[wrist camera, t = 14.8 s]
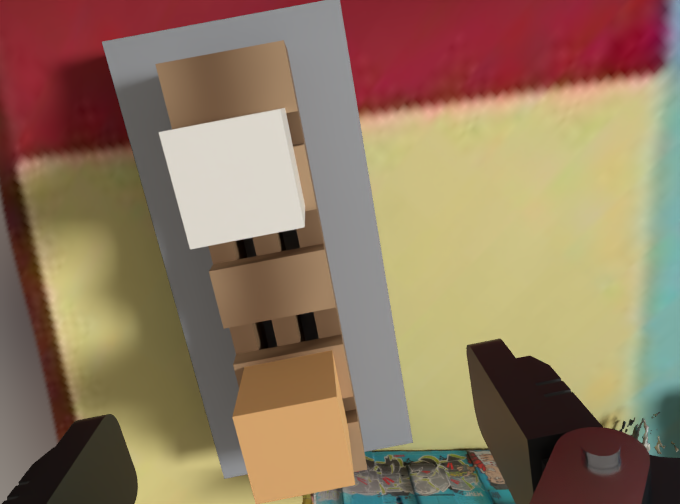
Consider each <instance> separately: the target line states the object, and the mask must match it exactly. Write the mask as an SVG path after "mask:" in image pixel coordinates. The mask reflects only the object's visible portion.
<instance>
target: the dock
mask: <svg viewBox="0 0 680 504" xmlns="http://www.w3.org/2000/svg"><path fill="white" fill-rule="evenodd" d="M282 40H284V42H285V45H286V47H287V50H288V56H289V61H290V66H291V71H292V76H293V81H294V86H295V92H296V97H297V102H298V107H299V112H300V117H301V123H302V128H303V133H304V138H305V143H306V148H307V153H308V159H309V164H310V169H311V174H312V179H313V184H314V190H315V195H316V200H317V205H318V210H319V215H320V221H321V226H322V231H323V236H324V241H325V246H326V251H327V257H328V262H329V267H330V272H331V277H332V282H333V288H334V293H335V298H336V303H337V308H338V313H339V318H340V324H341V329H342V334H343V339H344V344H345V349H346V355H347V360H348V365H349V370H350V375H351V380H352V385H353V391H354V396H355V401H356V406H357V411H358V416H359V422H360V427H361V434H362V440H363V446H364V452H366V451H371V450H376V449H382V448H387V447H392V446H397V445H402V444H408V443H413V440H412V434H411V428H410V422H409V416H408V410H407V404H406V398H405V392H404V386H403V380H402V374H401V368H400V362H399V355H398V349H397V343H396V337H395V331H394V325H393V319H392V313H391V307H390V301H389V295H388V289H387V283H386V277H385V271H384V265H383V259H382V253H381V247H380V241H379V235H378V229H377V222H376V216H375V210H374V204H373V198H372V192H371V186H370V180H369V174H368V168H367V162H366V156H365V150H364V144H363V138H362V132H361V126H360V120H359V114H358V108H357V102H356V96H355V89H354V83H353V77H352V71H351V65H350V59H349V53H348V47H347V41H346V35H345V29H344V23H343V17H342V11H341V5H340V0H324V1H319V2H314V3H308V4H303V5H297V6H292V7H287V8H281V9H276V10H271V11H265V12H260V13H254V14H249V15H244V16H238V17H233V18H228V19H222V20H217V21H211V22H206V23H201V24H195V25H190V26H184V27H179V28H174V29H168V30H163V31H158V32H152V33H147V34H141V35H136V36H131V37H125V38H120V39H114V40H109V41H104V42H102V44H103V48H104V51H105V55H106V58H107V62H108V66H109V69H110V73H111V76H112V80H113V83H114V87H115V90H116V94H117V98H118V101H119V105H120V108H121V112H122V115H123V119H124V123H125V126H126V130H127V133H128V137H129V140H130V144H131V147H132V151H133V155H134V158H135V162H136V165H137V169H138V172H139V176H140V180H141V183H142V187H143V190H144V194H145V197H146V201H147V204H148V208H149V212H150V215H151V219H152V222H153V226H154V229H155V233H156V236H157V240H158V244H159V247H160V251H161V254H162V258H163V261H164V265H165V269H166V272H167V276H168V279H169V283H170V286H171V290H172V293H173V297H174V301H175V304H176V308H177V311H178V315H179V318H180V322H181V326H182V329H183V333H184V336H185V340H186V343H187V347H188V350H189V354H190V358H191V361H192V365H193V368H194V372H195V375H196V379H197V383H198V386H199V390H200V393H201V397H202V400H203V404H204V407H205V411H206V415H207V418H208V422H209V425H210V429H211V432H212V436H213V439H214V443H215V447H216V450H217V454H218V457H219V461H220V464H221V468H222V472H223V475H224V479H225V478H230V477H236V476H241V475H246V474H248V473H247V469H246V466H245V462H244V458H243V455H242V451H241V447H240V443H239V440H238V436H237V432H236V429H235V425H234V421H233V418H232V416H233V412H234V408H235V404H236V400H237V395H238V391H239V386H238V382H237V378H236V375H235V371H234V367H233V363H234V360H235V356H236V352H235V348H234V344H233V340H232V336H231V333H230V329H229V328H225V329H224V328H223V324H222V320H221V316H220V313H219V309H218V305H217V301H216V297H215V293H214V289H213V286H212V282H211V278H210V274H209V270H210V269H211V267H212V265H213V262H212V258H211V254H210V250H209V246H206V247H200V248H195V249H190V247H189V244H188V240H187V236H186V232H185V229H184V225H183V221H182V218H181V214H180V210H179V207H178V203H177V199H176V195H175V192H174V188H173V184H172V181H171V177H170V173H169V169H168V166H167V162H166V158H165V155H164V151H163V147H162V144H161V140H160V136H159V132H162V131H167V130H172V127H171V123H170V119H169V115H168V111H167V107H166V103H165V100H164V96H163V92H162V88H161V84H160V80H159V76H158V72H157V69H156V65H155V64H158V63H164V62H169V61H174V60H180V59H185V58H191V57H196V56H201V55H207V54H212V53H217V52H223V51H228V50H234V49H239V48H244V47H250V46H255V45H260V44H266V43H271V42H277V41H282ZM282 233H283V238H284V243H285V247H286V250H291V249H297V248H300V245H299V240H298V235H297V231H296V229H294V230H288V231H283V232H282ZM243 241H244V246H245V250H246V254H247V258H249V257H254V256H256V251H255V247H254V243H253V238H247V239H243ZM300 317H301V322H302V327H303V331H304V336H305V340H306V341H309V340H314V339H319V337H318V332H317V327H316V322H315V317H314V313H313V312H309V313H304V314H300ZM262 322H263V326H264V330H265V335H266V339H267V343H268V347H269V348H272V347H277V342H276V338H275V333H274V329H273V325H272V320H267V321H262Z"/></svg>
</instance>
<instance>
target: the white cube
mask: <svg viewBox="0 0 680 504" xmlns="http://www.w3.org/2000/svg"><path fill="white" fill-rule="evenodd" d="M159 136H160V140H161V144H162V147H163V151H164V155H165V158H166V162H167V166H168V169H169V173H170V177H171V181H172V184H173V188H174V192H175V195H176V199H177V203H178V207H179V210H180V214H181V218H182V221H183V225H184V229H185V232H186V236H187V240H188V244H189V247H190V249H195V248H200V247H206V246H211V245H216V244H221V243H226V242H231V241H237V240H242V239H247V238H252V237H257V236H263V235H268V234H273V233H278V232H283V231H288V230H294V229H299V228H304V227H305V203H304V198H303V193H302V188H301V183H300V178H299V173H298V169H297V164H296V159H295V154H294V149H293V144H292V139H291V134H290V130H289V125H288V120H287V115H286V110H285V108H281V109H276V110H270V111H265V112H260V113H255V114H250V115H244V116H239V117H234V118H229V119H224V120H218V121H213V122H208V123H203V124H197V125H192V126H187V127H182V128H177V129H172V130H167V131H162V132H159Z"/></svg>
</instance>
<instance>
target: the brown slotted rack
mask: <svg viewBox="0 0 680 504" xmlns="http://www.w3.org/2000/svg"><path fill="white" fill-rule="evenodd" d="M155 65H156V69H157V72H158V76H159V80H160V84H161V88H162V92H163V96H164V100H165V103H166V107H167V111H168V115H169V119H170V123H171V127H172V129H177V128H182V127H187V126H192V125H197V124H203V123H208V122H213V121H218V120H224V119H229V118H234V117H239V116H244V115H250V114H255V113H260V112H265V111H270V110H276V109H281V108H285V110H286V115H287V120H288V125H289V130H290V134H291V139H292V144H293V149H294V154H295V159H296V164H297V169H298V173H299V178H300V183H301V188H302V193H303V198H304V203H305V227H304V228H299V229H296V231H297V235H298V240H299V245H300V248H297V249H291V250H286V247H285V243H284V238H283V233H282V232H278V233H273V234H268V235H263V236H257V237H252V238H253V243H254V247H255V251H256V256H254V257H249V258H247V254H246V250H245V246H244V241H243V239H242V240H237V241H231V242H226V243H221V244H216V245H211V246H209V250H210V254H211V258H212V262H213V265H212V267H211V269H210V270H209V274H210V278H211V282H212V286H213V289H214V293H215V297H216V301H217V305H218V309H219V313H220V316H221V320H222V324H223V328H224V329H225V328H229V329H230V333H231V336H232V340H233V344H234V348H235V352H236V356H235V360H234V363H233V367H234V371H235V375H236V378H237V382H238V386H239V387H240V383H241V379H242V375H243V370H244V367H248V366H253V365H258V364H264V363H269V362H274V361H279V360H284V359H289V358H295V357H300V356H305V355H310V354H315V353H320V352H325V351H331V350H332V351H333V356H334V361H335V366H336V371H337V376H338V381H339V385H340V390H341V395H342V400H343V405H344V410H345V415H346V419H347V424H348V431H349V439H350V447H351V455H352V463H353V471H354V472H357V471H362V470H367V464H366V458H365V452H364V446H363V440H362V434H361V427H360V422H359V416H358V411H357V406H356V401H355V396H354V391H353V385H352V380H351V375H350V370H349V365H348V360H347V355H346V349H345V344H344V339H343V334H342V329H341V324H340V318H339V313H338V308H337V303H336V298H335V293H334V288H333V282H332V277H331V272H330V267H329V262H328V257H327V251H326V246H325V241H324V236H323V231H322V226H321V221H320V215H319V210H318V205H317V200H316V195H315V190H314V184H313V179H312V174H311V169H310V164H309V159H308V153H307V148H306V143H305V138H304V133H303V128H302V123H301V117H300V112H299V107H298V102H297V97H296V92H295V86H294V81H293V76H292V71H291V66H290V61H289V56H288V50H287V47H286V45H285V42H284V40H282V41H277V42H271V43H266V44H260V45H255V46H250V47H244V48H239V49H234V50H228V51H223V52H217V53H212V54H207V55H201V56H196V57H191V58H185V59H180V60H174V61H169V62H164V63H158V64H155ZM309 312H313V313H314V317H315V322H316V327H317V332H318V337H319V339H314V340H309V341H306V340H305V336H304V331H303V327H302V322H301V317H300V314H304V313H309ZM267 320H272V325H273V329H274V333H275V338H276V342H277V347H272V348H269V347H268V343H267V339H266V335H265V330H264V326H263V322H262V321H267Z"/></svg>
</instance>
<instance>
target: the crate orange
mask: <svg viewBox="0 0 680 504" xmlns="http://www.w3.org/2000/svg"><path fill="white" fill-rule="evenodd" d="M232 418H233V421H234V425H235V429H236V432H237V436H238V440H239V443H240V447H241V451H242V455H243V458H244V462H245V466H246V469H247V473H248V477H249V480H250V484H251V488H252V492H253V495H254V499H255V503H256V504H260V503H266V502H271V501H276V500H281V499H286V498H291V497H296V496H301V495H307V494H312V493H317V492H322V491H327V490H332V489H337V488H342V487H348V486H353V485H355V479H354V471H353V463H352V455H351V447H350V439H349V431H348V424H347V419H346V415H345V410H344V405H343V400H342V395H341V390H340V385H339V381H338V376H337V371H336V366H335V361H334V356H333V351H332V350H331V351H325V352H320V353H315V354H310V355H305V356H300V357H295V358H289V359H284V360H279V361H274V362H269V363H264V364H258V365H253V366H248V367H244V370H243V375H242V379H241V383H240V387H239V391H238V395H237V400H236V404H235V408H234V412H233V416H232Z"/></svg>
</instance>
